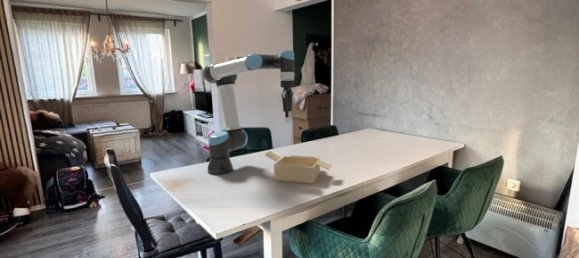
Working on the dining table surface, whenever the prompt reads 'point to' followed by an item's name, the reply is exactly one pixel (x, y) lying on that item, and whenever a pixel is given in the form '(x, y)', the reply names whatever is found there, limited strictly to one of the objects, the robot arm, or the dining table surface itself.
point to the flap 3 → (303, 156)
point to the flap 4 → (324, 164)
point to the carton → (297, 170)
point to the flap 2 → (291, 164)
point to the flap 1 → (272, 156)
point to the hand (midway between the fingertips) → (287, 123)
